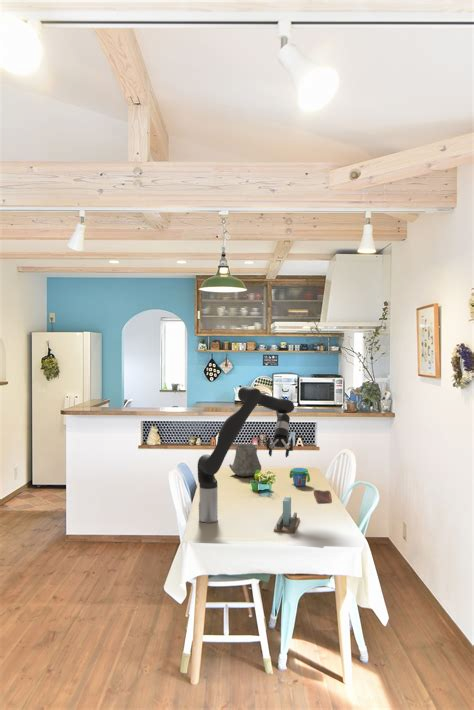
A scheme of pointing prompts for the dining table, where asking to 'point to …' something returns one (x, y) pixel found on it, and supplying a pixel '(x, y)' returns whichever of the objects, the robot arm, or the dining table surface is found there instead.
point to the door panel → (286, 511)
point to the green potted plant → (255, 481)
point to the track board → (285, 528)
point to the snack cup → (299, 476)
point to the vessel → (245, 461)
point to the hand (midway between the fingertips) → (278, 456)
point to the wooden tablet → (323, 497)
